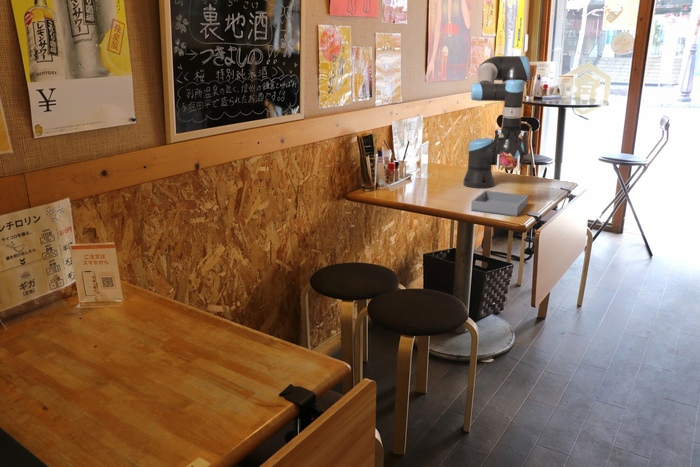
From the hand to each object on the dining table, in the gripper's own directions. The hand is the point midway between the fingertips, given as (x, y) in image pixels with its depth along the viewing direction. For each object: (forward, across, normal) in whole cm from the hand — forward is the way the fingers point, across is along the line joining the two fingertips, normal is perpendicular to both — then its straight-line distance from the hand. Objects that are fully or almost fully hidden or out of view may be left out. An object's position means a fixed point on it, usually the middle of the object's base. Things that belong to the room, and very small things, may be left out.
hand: (508, 169), depth 252 cm
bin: (+16, -1, -7) cm, 17 cm away
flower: (0, 0, 0) cm, 0 cm away
